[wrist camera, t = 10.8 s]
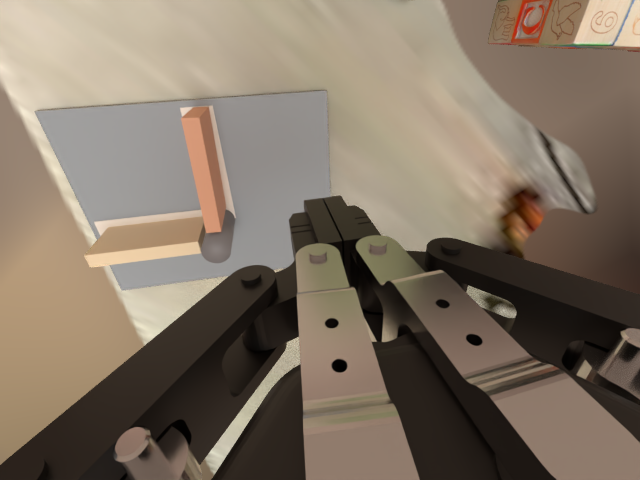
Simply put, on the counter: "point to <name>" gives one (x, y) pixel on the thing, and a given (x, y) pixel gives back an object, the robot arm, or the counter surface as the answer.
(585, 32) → the stack of blocks
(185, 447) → the robot arm
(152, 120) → the slate board
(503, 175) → the counter surface
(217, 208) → the salmon long narrow block
